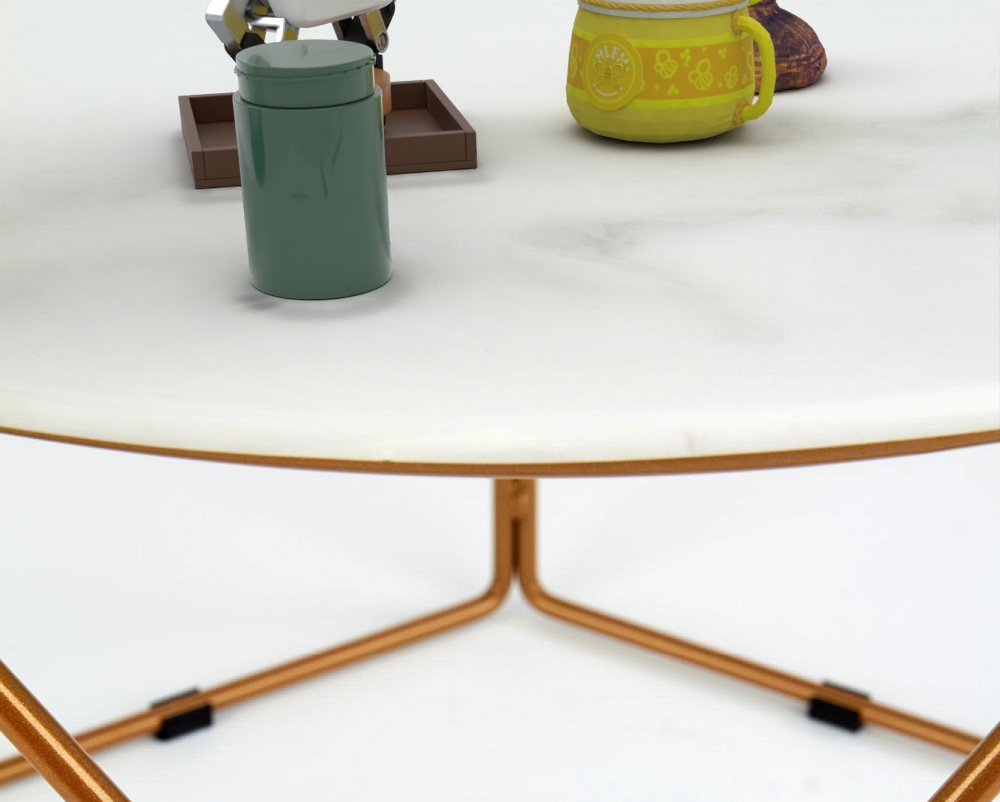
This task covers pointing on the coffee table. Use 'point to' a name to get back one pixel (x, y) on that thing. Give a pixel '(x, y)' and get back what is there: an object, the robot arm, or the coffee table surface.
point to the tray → (408, 134)
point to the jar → (312, 168)
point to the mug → (667, 68)
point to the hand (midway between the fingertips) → (321, 136)
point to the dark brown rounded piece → (788, 47)
